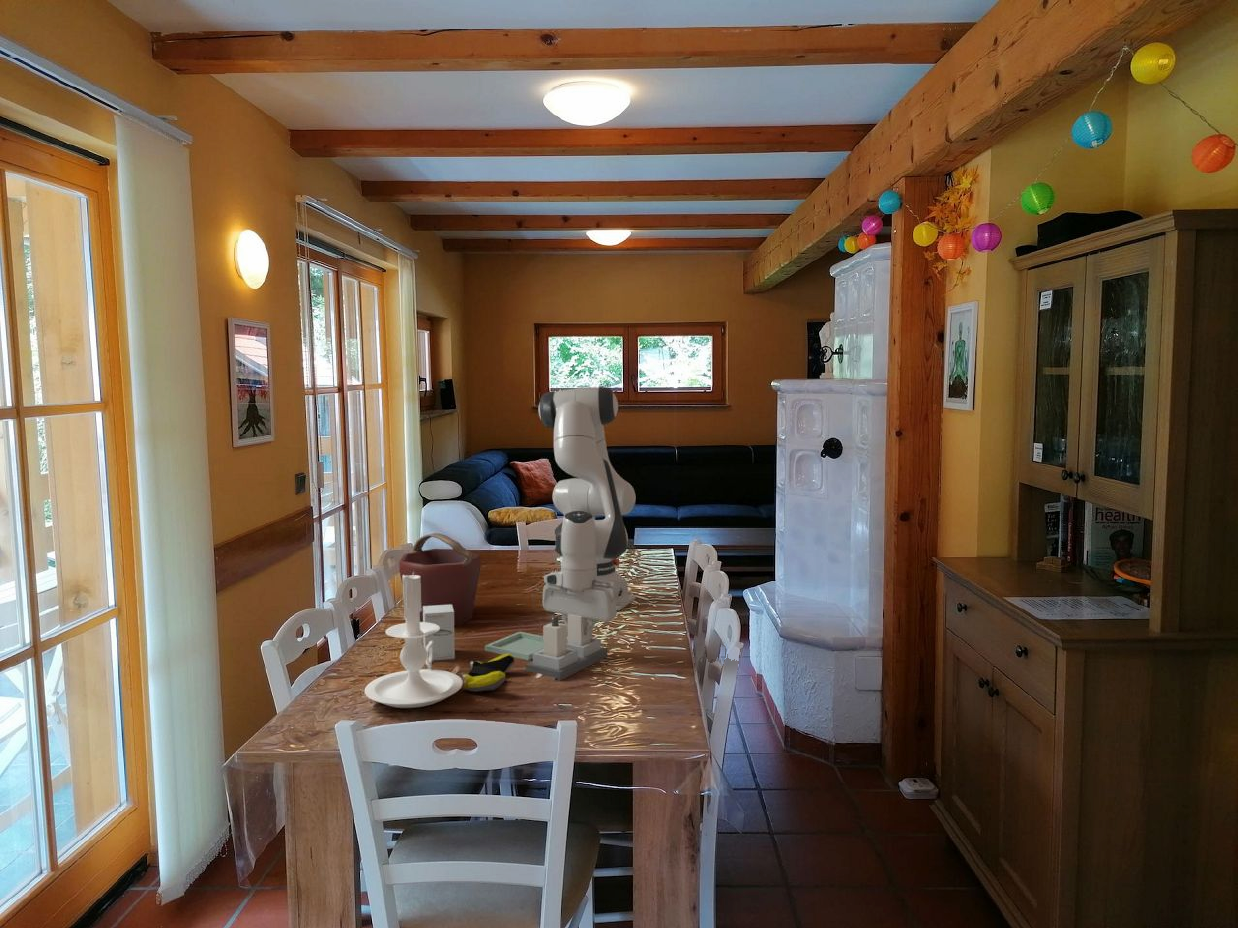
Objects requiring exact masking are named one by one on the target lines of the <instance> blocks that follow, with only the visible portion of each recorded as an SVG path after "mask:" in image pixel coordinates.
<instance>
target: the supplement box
mask: <svg viewBox="0 0 1238 928" xmlns="http://www.w3.org/2000/svg"><path fill="white" fill-rule="evenodd" d="M423 622H428V623H433V624H436V625H438V626H439V627H440V630H439V631H438V632H436V633H434V634H431V635H428V636H424V637H422V641H423V642H422V645H423V646H424V647H425V649H426V646H427V645H428V644H429V642H430V641H433V645H432V646H433V659H432V663H435V661H445V660H455V658H456V653H455V652H456V650H455V649H456V648H455V647H456V646H455V627H454V610H453V606H452V604H451V605H435V606H423ZM428 657H429V656H428Z"/></svg>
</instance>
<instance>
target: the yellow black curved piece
mask: <svg viewBox="0 0 1238 928" xmlns="http://www.w3.org/2000/svg"><path fill="white" fill-rule="evenodd" d="M514 664H515V657H514V656H513V655H511V654H500V655H499V656H497V657H495V658H493V659H490V660H489V661H487V662H481V661H479V660H478V661H477V660H473V661H470V667H471V668H470V670H469V673H467V674H466V673H465V674H462V679H463V688H464V689H466V691H469V692H483V691H484V692H485V691H494V690H496V689H497V688H499V687H500V686H501V685H503V683H504V682H505V681H506V680H507V677H506V673H507V672H508V671H509V670H510V669H511V667H512V666H513V665H514Z"/></svg>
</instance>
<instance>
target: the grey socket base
mask: <svg viewBox="0 0 1238 928" xmlns="http://www.w3.org/2000/svg"><path fill="white" fill-rule="evenodd" d="M542 633H543V634H542V636H543V649H542V650H540V651H538V652H536V653H533V658H532V661H530V662H528V663H526V664H525V671H526V672H529V673H530V672H531V673H535V674H538V675H542V676H548V677H550V678H554V679H555V680H554V681H558V680H559V682H560V681H563V680H565V679H567V678H569V677H570V676H573V675H574V674H577V673H578V672H580V671H582V670H584V669H586V668H588V667H591V666H592V665H593V664H595V663H598V662H600V661H602V660H604V659H605V658H607V657H608V648H605V647H602V645H601V644H602V641H601V639H600V638H595V637H591V636H590V643H589V644H586V645H584V646H578V645H574V644H569V643H568V632H567V625H566V624H565V623H559V616H556V615H553V616H551V622H550V623H547V624H545V625H543V626H542Z"/></svg>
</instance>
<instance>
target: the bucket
mask: <svg viewBox="0 0 1238 928" xmlns="http://www.w3.org/2000/svg"><path fill="white" fill-rule="evenodd" d="M430 538H434V539H435V538H436V539H438V540H439V541H442V542H444V543H445V544H447V545H448V546H450V549H449V548H447V549H445V548H433V549H425V550H423V549H422V548H423V547H424V545H425V544H426V541H428V540H430ZM481 557H482V556H481V555H480V554H477V553H476V552H473V551H472V550H469V549H467V548H465V547H464V546H462V544H461V543H460V542H458V541H457V540H455V539H453V538H452V537H450V536H447V535H445V534H442V533H437V532H435V533H429V534H428V533H427V534H425V535H423V536H421V537H419V538H418V539H417V540H416V541H415V543H414V545H413V546H412V552H409V553H408V552H407V553H404V554H403V555H402V557H401V558H400V559H399V561H398V565H399V567H398V568H399V569H398V570H399V571H398V572H399V577H400V579H401V580H400V581H401V584H402V586H403V577H402V575H405V576H406V575H418V576H421V577H420V579H421V609H422V611H420V622H423V606H435V605H451V604H452V606H453V610H454V626H456V627H459V626H461V625H463V624H465V623H466V621H467V620H469V619H471V620H472V617H473V612H474V605H475V601H476V595H477V594H476V593H477V588H478V584H479V580H480V579H479V578H480V573H481V567H482V565H481V564H482V562H481V561H482V559H481ZM413 573H414V574H413ZM469 621H470V620H469ZM464 622H465V623H464ZM467 622H468V621H467ZM462 623H463V624H462ZM460 624H461V625H460ZM458 625H459V626H458Z"/></svg>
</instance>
